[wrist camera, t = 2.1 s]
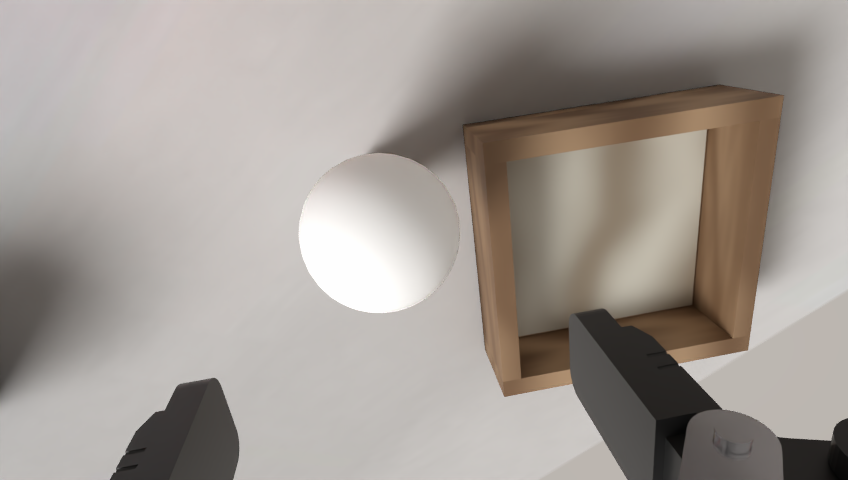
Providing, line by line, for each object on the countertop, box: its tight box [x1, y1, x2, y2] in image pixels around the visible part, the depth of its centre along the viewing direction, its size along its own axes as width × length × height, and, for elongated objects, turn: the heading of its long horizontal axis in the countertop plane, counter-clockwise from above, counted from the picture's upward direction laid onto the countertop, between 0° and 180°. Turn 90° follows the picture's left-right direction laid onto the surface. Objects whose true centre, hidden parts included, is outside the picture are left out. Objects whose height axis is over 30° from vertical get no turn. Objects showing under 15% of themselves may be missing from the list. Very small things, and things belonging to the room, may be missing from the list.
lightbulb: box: [299, 153, 460, 313], centre depth 22 cm, size 6×6×11 cm
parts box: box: [463, 85, 784, 397], centre depth 28 cm, size 14×14×4 cm
